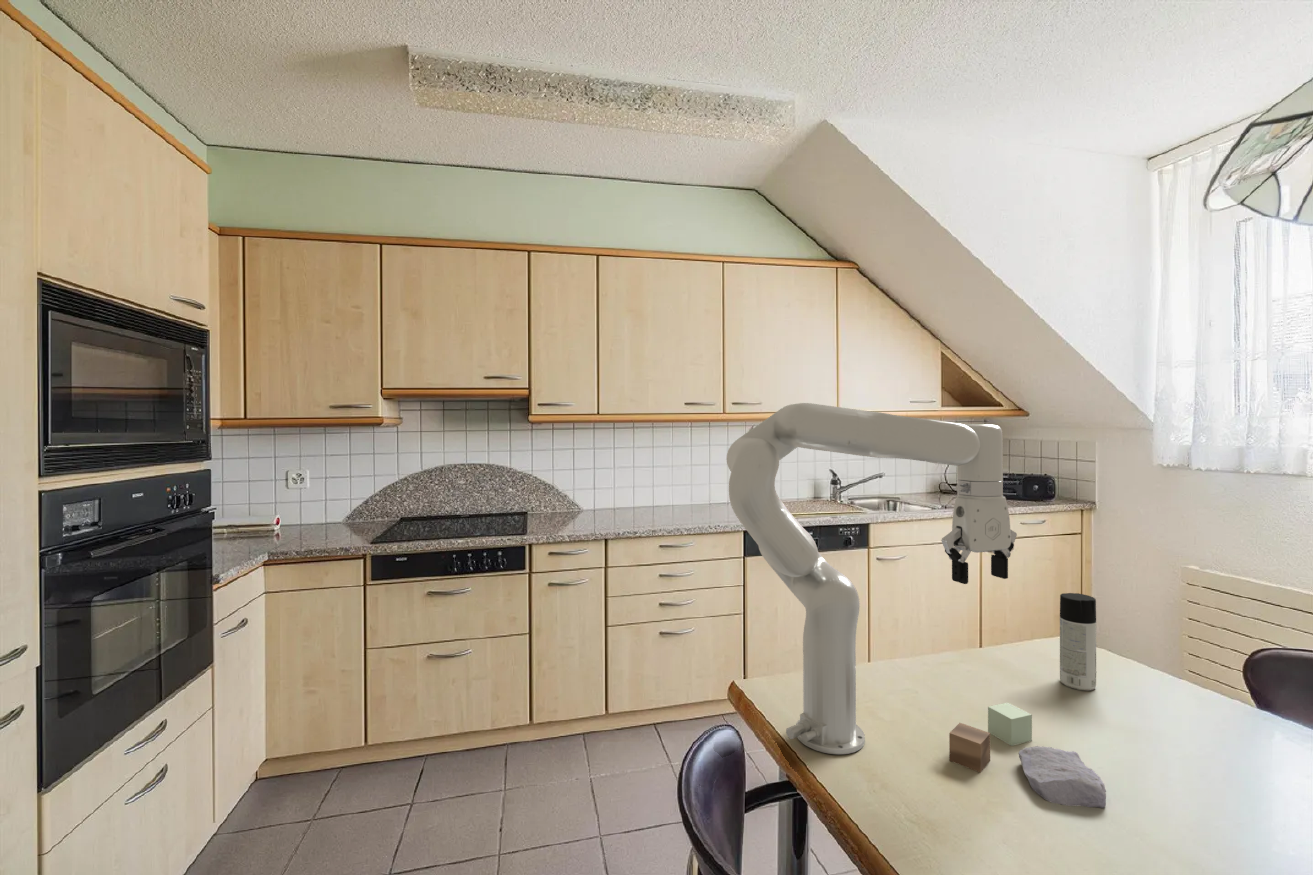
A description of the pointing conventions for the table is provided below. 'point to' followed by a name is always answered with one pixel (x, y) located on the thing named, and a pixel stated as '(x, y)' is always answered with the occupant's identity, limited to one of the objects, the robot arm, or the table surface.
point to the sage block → (1010, 723)
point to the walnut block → (969, 747)
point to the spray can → (1078, 641)
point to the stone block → (1062, 777)
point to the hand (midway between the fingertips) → (980, 579)
